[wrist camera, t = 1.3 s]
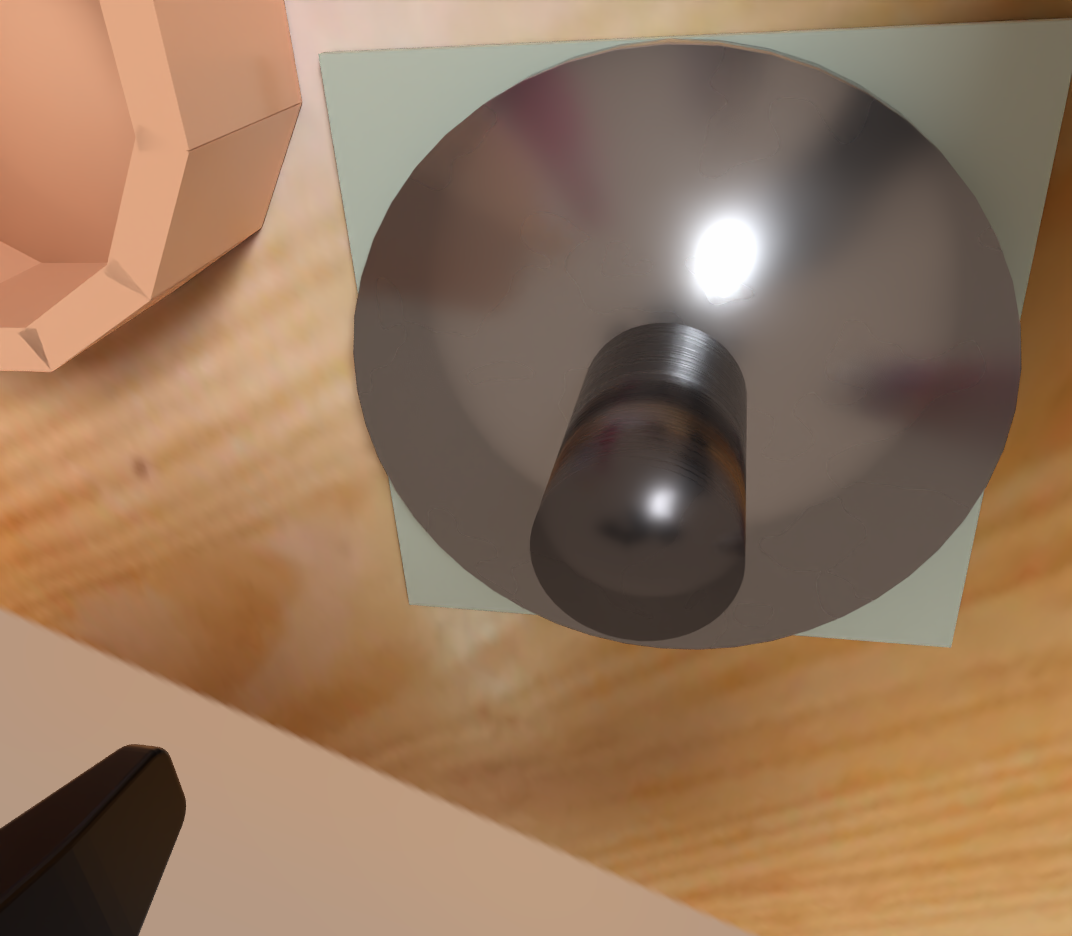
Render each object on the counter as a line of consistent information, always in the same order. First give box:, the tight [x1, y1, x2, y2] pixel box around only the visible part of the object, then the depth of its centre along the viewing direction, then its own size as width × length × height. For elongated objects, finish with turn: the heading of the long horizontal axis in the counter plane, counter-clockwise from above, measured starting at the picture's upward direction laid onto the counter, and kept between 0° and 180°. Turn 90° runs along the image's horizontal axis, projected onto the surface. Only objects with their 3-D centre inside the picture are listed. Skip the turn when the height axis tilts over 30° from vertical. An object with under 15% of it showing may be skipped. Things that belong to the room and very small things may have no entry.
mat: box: [318, 18, 1072, 648], centre depth 18 cm, size 12×12×1 cm
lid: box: [353, 38, 1021, 649], centre depth 15 cm, size 12×12×6 cm
